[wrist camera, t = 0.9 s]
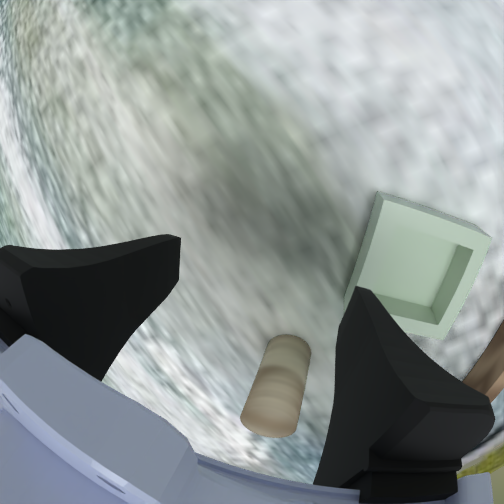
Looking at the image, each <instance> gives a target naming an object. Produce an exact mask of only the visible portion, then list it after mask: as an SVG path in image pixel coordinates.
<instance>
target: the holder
mask: <svg viewBox="0 0 504 504" xmlns="http://www.w3.org/2000/svg"><path fill="white" fill-rule="evenodd" d="M491 240H492V237H490V236H489V235H488V234H487V233H485V232H484V231H483V230H481V229H480V228H479V227H478V226H476V225H474V224H471V223H469V222H466V221H464V220H461V219H458V218H456V217H453V216H451V215H448V214H445V213H442V212H440V211H437V210H434V209H431V208H428V207H426V206H423V205H420V204H417V203H414V202H411V201H408V200H405V199H401V198H398V197H395V196H392V195H389V194H385V193H382V192H379V191H377V194H376V198H375V202H374V205H373V209H372V213H371V216H370V220H369V223H368V226H367V230H366V233H365V236H364V240H363V243H362V246H361V249H360V252H359V256H358V259H357V262H356V265H355V268H354V271H353V273H352V276H351V279H350V282H349V285H348V288H347V290H346V293H345V296H344V313H345V311H346V309H347V306H348V304H349V301H350V299H351V296H352V294H353V291H354V288H355V286H359V287H363V288H367V289H370V290H371V291H372V292H373V293H374V294H375V295H376V297H377V298H378V299H379V301H380V302H381V303H382V305H383V306H384V307H385V309H386V310H387V311H388V313H389V314H390V315H391V316H392V318H393V319H394V320H395V321H396V323H397V324H398V325H399V326H400V328H401V329H402V330H403V331H404V332H405V333H410V334H414V335H419V336H424V337H429V338H433V339H438V340H444V338H445V336H446V335H447V333H448V331H449V330H450V328H451V326H452V324H453V323H454V321H455V319H456V317H457V315H458V314H459V312H460V310H461V308H462V306H463V304H464V302H465V300H466V298H467V296H468V294H469V292H470V290H471V288H472V286H473V284H474V281H475V279H476V277H477V275H478V273H479V270H480V268H481V266H482V263H483V261H484V258H485V256H486V253H487V251H488V248H489V246H490V243H491Z"/></svg>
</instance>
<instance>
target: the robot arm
mask: <svg viewBox="0 0 504 504" xmlns="http://www.w3.org/2000/svg"><path fill="white" fill-rule="evenodd" d="M180 246H181V238H180V237H177V236H173V235H169V234H164V235H157V236H151V237H146V238H142V239H137V240H132V241H128V242H123V243H118V244H112V245H107V246H101V247H94V248H85V249H65V250H49V249H34V248H26V247H19V246H13V245H6V246H4V247H2V248H0V504H493V495H492V486H491V478H490V473H488V472H486V473H481V474H475V475H468V476H464V477H462V478H459V479H457V475H456V471H459V470H460V469H461V467H462V462H461V458H462V457H463V456H464V455H466V454H467V453H468V452H469V451H471V450H472V449H473V448H474V447H475V446H476V445H478V444H479V443H480V442H481V441H482V440H483V439H484V438H485V437H486V436H487V435H488V433H489V432H490V430H491V429H492V427H493V425H494V422H495V416H494V412H493V409H492V406H491V403H490V400H489V397H488V396H486V395H484V394H482V393H481V392H479V391H477V390H475V389H473V388H471V387H470V386H468V385H466V384H464V383H463V382H461V381H460V380H458V379H457V378H455V377H454V376H452V375H451V374H450V373H448V372H447V371H446V370H444V369H443V368H442V367H440V366H439V365H438V364H437V363H436V362H434V361H433V360H432V359H431V358H430V357H428V356H427V355H426V354H425V353H424V352H423V351H422V350H421V349H420V348H419V347H418V346H417V345H416V344H415V343H414V342H413V341H412V340H411V339H410V338H409V337H408V336H407V335H406V333H405V332H404V331H403V330H402V329H401V328H400V326H399V325H398V324H397V323H396V321H395V320H394V319H393V318H392V316H391V315H390V314H389V313H388V311H387V310H386V309H385V307H384V306H383V305H382V303H381V302H380V301H379V299H378V298H377V297H376V295H375V294H374V293H373V292H372V291H371V290H370V289H367V288H363V287H359V286H355V288H354V291H353V294H352V296H351V299H350V301H349V304H348V306H347V309H346V311H345V313H344V316H343V318H342V321H341V323H340V325H339V329H338V336H337V343H336V358H335V392H334V403H333V409H332V414H331V419H330V424H329V429H328V433H327V438H326V442H325V446H324V450H323V453H322V457H321V460H320V464H319V467H318V470H317V473H316V476H315V479H314V482H313V485H312V484H306V483H301V482H295V481H290V480H285V479H281V478H276V477H272V476H268V475H264V474H260V473H256V472H253V471H249V470H246V469H242V468H239V467H236V466H232V465H229V464H226V463H223V462H220V461H217V460H215V459H212V458H209V457H206V456H204V455H201V454H198V453H196V452H194V450H193V448H192V446H191V445H190V443H189V441H188V439H187V437H185V436H184V435H183V434H182V433H181V432H179V431H178V430H177V429H176V428H175V427H174V426H172V425H171V424H170V423H169V422H168V421H167V420H166V419H164V418H162V417H161V416H159V415H157V414H156V413H154V412H152V411H151V410H149V409H148V408H146V407H144V406H143V405H141V404H140V403H138V402H136V401H134V400H132V399H131V398H129V397H127V396H125V395H123V394H121V393H120V392H118V391H116V390H114V389H113V388H111V387H109V386H107V385H106V384H104V383H102V382H101V381H102V380H103V378H104V376H105V374H106V373H107V371H108V369H109V367H110V366H111V364H112V363H113V361H114V360H115V358H116V356H117V355H118V353H119V352H120V350H121V349H122V348H123V346H124V345H125V343H126V342H127V341H128V339H129V338H130V336H131V335H132V334H133V333H134V332H135V330H136V329H137V328H138V327H139V326H140V325H141V324H142V323H143V322H144V321H145V320H146V319H147V318H148V317H149V316H150V314H151V313H152V312H153V311H154V310H155V309H156V308H157V307H158V306H159V305H160V304H161V303H162V302H163V301H164V300H165V299H166V297H167V296H168V295H169V294H170V292H171V291H172V289H173V288H174V286H175V285H176V283H177V282H178V280H179V265H180Z"/></svg>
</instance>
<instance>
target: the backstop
mask: <svg viewBox="0 0 504 504" xmlns="http://www.w3.org/2000/svg"><path fill="white" fill-rule="evenodd" d="M462 382H463V383H464V384H466V385H468V386H470V387H471V388H473V389H475V390H477V391H479V392H481V393H482V394H484V395H486V396H488V397H489V400H490V403H491V402H492V401H493V400H494V399H495V398H496V396H497V395H498V394H499V393H500V392H501V391H502V389H503V388H504V320H503V322H502V324H501V326H500V327H499V329H498V331H497V332H496V334H495V336H494V337H493V339H492V340H491V342H490V344H489V345H488V347H487V348H486V350H485V351H484V353H483V354H482V356H481V357H480V358H479V360H478V361H477V363H476V364H475V366H474V367H473V368H472V370H471V371H470V372H469V374H468V375H467V376H466V378H465V379H464V380H463V381H462Z"/></svg>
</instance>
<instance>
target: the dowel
mask: <svg viewBox="0 0 504 504" xmlns="http://www.w3.org/2000/svg"><path fill="white" fill-rule="evenodd" d="M310 357H311V349H310V347H309V345H308V344H307V343H306V342H305V341H304V340H303V339H301V338H299V337H296V336H293V335H280V336H277V337H274V338H273V339H272V340H270V342H269V343H268V345H267V348H266V351H265V353H264V356H263V359H262V362H261V364H260V367H259V370H258V372H257V375H256V378H255V380H254V383H253V385H252V388H251V391H250V393H249V396H248V398H247V401H246V403H245V406H244V408H243V411H242V413H241V416H240V420H241V422H242V424H243V425H244V426H245V427H246V428H247V429H249V430H250V431H252V432H254V433H256V434H258V435H261V436H265V437H271V438H282V437H287V436H290V435H291V434H293V433H294V432H295V431H296V428H297V423H298V419H299V414H300V410H301V405H302V400H303V395H304V390H305V385H306V380H307V374H308V369H309V363H310Z"/></svg>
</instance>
